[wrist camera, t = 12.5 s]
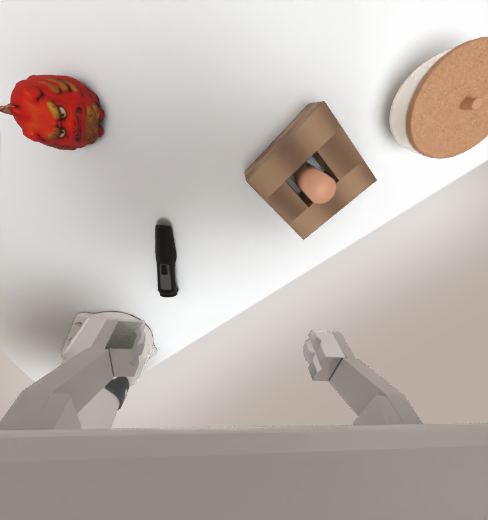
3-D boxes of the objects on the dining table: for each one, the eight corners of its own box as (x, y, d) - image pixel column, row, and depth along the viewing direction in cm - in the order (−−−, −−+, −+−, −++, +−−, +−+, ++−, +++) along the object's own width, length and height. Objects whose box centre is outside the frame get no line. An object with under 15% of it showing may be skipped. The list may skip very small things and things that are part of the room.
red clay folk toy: (106, 153, 33) (26, 177, 20) (51, 135, 31) (-74, 149, 19) (108, 89, 29) (10, 69, 16) (45, 66, 28) (-117, 24, 15)
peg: (297, 187, 36) (317, 209, 28) (285, 171, 35) (302, 188, 26) (315, 173, 35) (341, 191, 27) (303, 155, 34) (327, 169, 25)
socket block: (294, 223, 39) (303, 239, 34) (244, 172, 35) (246, 181, 30) (356, 170, 35) (376, 180, 30) (309, 103, 31) (324, 101, 25)
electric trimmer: (177, 219, 39) (173, 227, 36) (179, 292, 47) (176, 303, 44) (154, 217, 38) (148, 225, 36) (160, 291, 46) (155, 301, 44)
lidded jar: (358, 116, 32) (400, 116, 24) (430, 30, 27) (512, -5, 19) (403, 165, 35) (452, 180, 27) (473, 96, 31) (556, 90, 23)
